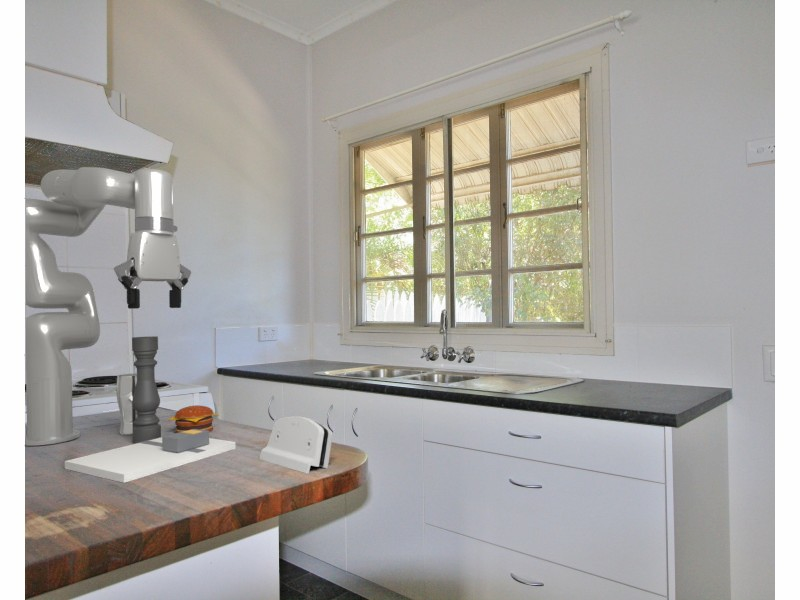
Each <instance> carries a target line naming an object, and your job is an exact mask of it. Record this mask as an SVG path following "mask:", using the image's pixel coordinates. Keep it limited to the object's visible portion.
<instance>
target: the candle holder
mask: <svg viewBox="0 0 800 600" xmlns="http://www.w3.org/2000/svg"><path fill="white" fill-rule="evenodd" d="M158 350H159V336H156V335H155V336H136V337H135V336H134V337H131V351H132V352H133V355H134V357H135V358H136V360H135V361H134V362H133V366H134V367H135V369H136V373H137V383H136V387H135V392H134V396H133V400H132V405H133V408H134V409H135V410H136V411H137V413H136V414H137V415H138V417H137V418H136V419H135V421H134V425H135V427H134V428H133V435H132V443H133V444H136V443H139V442H143V441H149V440H153V439H157V438H161V437H162V426H161V424H159V423H160V420H161V419H160V418H159V417H158V416H157V414H156V413H157V409H158V408H160V407H159V406H160V404H161V397H160V394H159V391H158V387H157V386H158V385H157V384H156V380H155V379H156V377H155V375H156V374H155V367H156V365H158V361H157V360H156V359H155V357H156V355H157V354H158Z"/></svg>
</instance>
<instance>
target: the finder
mask: <svg viewBox="0 0 800 600" xmlns="http://www.w3.org/2000/svg"><path fill="white" fill-rule="evenodd" d="M161 437H162V450H166V451H171V452H177V453H178V452H182V451H185V450H189V449H192V448H196V447H199V446H203V445H207V444H209V438H210V432H209V431H206V430H199V429H191V430H187V431H183V432H179V433H176V432H175V433H172V434H166V435H163V436H161Z"/></svg>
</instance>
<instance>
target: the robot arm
mask: <svg viewBox="0 0 800 600" xmlns="http://www.w3.org/2000/svg"><path fill="white" fill-rule="evenodd" d="M40 189H41V192H42V193H43V195H44V196H45V197H46V198H47V199H48V200H45V199H38V198H25V199H26V304H25V305H26V306H27V307H29V308H33V309H44V310H45V309H55V310H56V309H58V310H59V309H67V311H54V312H53V311H49V312H48V311H47V312H46V311H45V312H37V313H33V314H30V315H28V316H27V317H25V319H26V363H25V384H26V386H25V387H26V388H25V389H26V390H25V391H26V392H25V393H26V425H25V429H26V435H25V436H26V445H25V446H26V447H27V446H30V447H31V446H46V445H54V444H55V445H56V444H60V443H65V442H68V441H72V440H76V439H77V438H79V437H80V436H81V432H80V430H77V429H74V426H73V422H74V421H73V420H74V418H73V376H72V374H73V373H72V365H71V363H70V362H69V359H68V358H67V356H65V354H64V353H63V351H65V350H75V349H87V348H90V347H93V346H95V344H97V342H98V341H99V339H100V336H101V335H100V334H101V324H100V320H99V319H100V318H99V314H98V308H97V302H96V298H95V297H96V296H95V292H94V288H93V285H92V283H91V281H90V280H89V278H88V277H87V276H85V275H84V274H82V273H80V272H79V273H78V272H69V271H67V272H66V271H61V270H59V268H58V264H57V260H56V258H57V257H56V254H55V252H54V250H53V249H52V248H51V247H50V246H51V245H49V244H48V243H47V242H46V241H45V240H44V239H43V238H42V237H41V235H49V236H59V237H68V238H74V237H75V238H76V237H79V236H82V235H83V234H84V233H85V232H86V231H87V230H88V229H89V228H90V227H91V225H92V223H93V222H94V221H95V220H96V218H98V216H99V215H100V214H101V212H102V211H103V210H104V209H105V208H106V205H107V206H114V207H120V208H125V209H131V210H134V232H131V233H130V236H129V241H128V246H127V247H128V248H127V255H126V261H125V262H122V263H121V264H118V265H116V266H114V267H113V271H114V272H115V275H116V276H117V280H118V282H119V283H121V284H122V286H123V288H124V290H126V304H127V308H128V309H129V310H130V309H131V310H132V309H140V307H141V302H140V301H141V298H140V297H141V293H140V292H141V291H140V289H139V288H138V287H139V285H140V284H141V283H142V282H166V283H167V284H168V285H169V287H170V290H169V293H168V294H169V295H168V296H169V297H168V298H169V309H180V308H182V291H183V290H184V288H185V286H186V285H187V284H188V282H189V279H190V277H191V274H192V271H191V270H190V269H188V268H187V267H186V266H184V265H182V264H181V262H180V261H181V260H180V250H179V245H178V241H177V237H176V235H174V233H175V232H177V231H178V226H177V225H175V223H174V178H173V176H172V174H171V173H170V172H168V171H165V170H164V169H158V168H142V169H138V170H137V171H136V172H135V174H132V173H128V172H124V171H121V170H115V169H110V168H106V167H97V166H96V167H94V166H81V167H78V169H62V168H61V169H54V170H51V171H49V172H47V173H45V175H44V176H43V177H42V178H41V181H40ZM49 200H50V201H49ZM40 234H41V235H40Z"/></svg>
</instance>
